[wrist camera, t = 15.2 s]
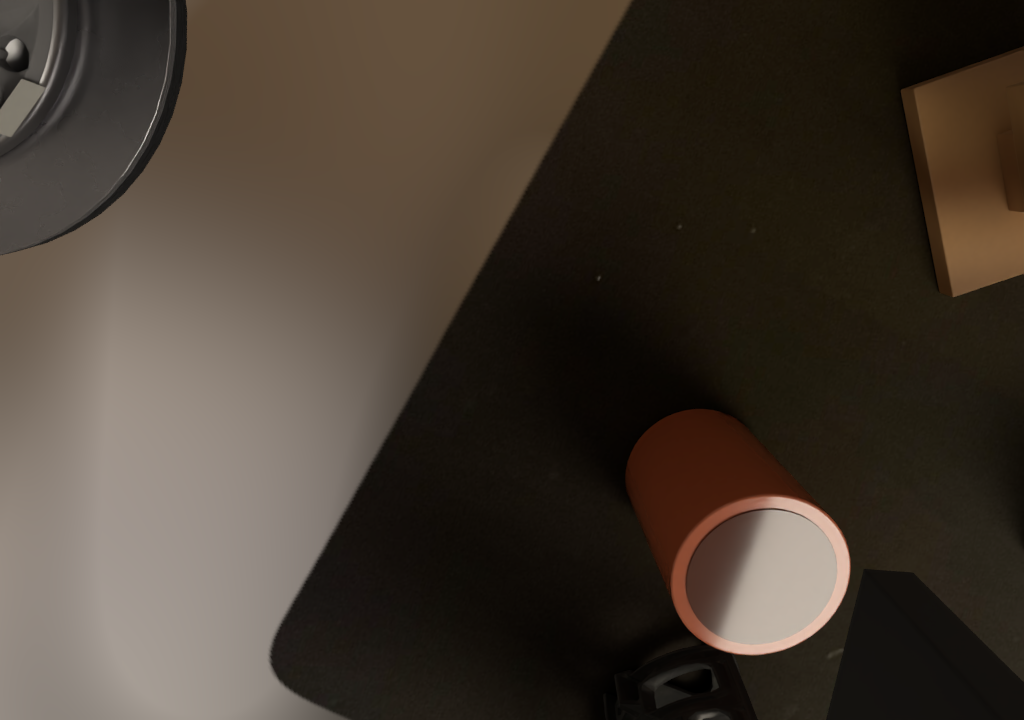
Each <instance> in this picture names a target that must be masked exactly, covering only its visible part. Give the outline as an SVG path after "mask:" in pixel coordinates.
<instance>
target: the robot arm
mask: <svg viewBox="0 0 1024 720" xmlns="http://www.w3.org/2000/svg"><path fill="white" fill-rule="evenodd" d="M76 31H77V0H0V156H1V155H3V154H5V153H6V152H8V151H10V150H11V149H13V148H14V147H15V146H17V145H18V144H19V143H21V142H22V141H23V140H25V139H26V138H27V137H28V136H29V135H30V134H31V133H32V132H33V131H34V130H35V129H36V128H37V127H38V126H39V124H40V123H41V122H42V121H43V120H44V118H45V117H46V116H47V114H48V113H49V111H50V110H51V108H52V107H53V105H54V104H55V102H56V100H57V98H58V96H59V94H60V92H61V90H62V88H63V86H64V83H65V81H66V78H67V75H68V73H69V69H70V66H71V62H72V58H73V54H74V48H75V41H76ZM826 720H1024V682H1023V681H1022V680H1021V679H1020V678H1019V677H1018V676H1017V675H1016V674H1015V673H1014V672H1013V671H1012V670H1011V669H1010V668H1009V667H1008V666H1007V665H1006V664H1005V663H1004V662H1002V661H1001V660H1000V659H999V658H998V657H997V656H996V655H995V654H994V653H993V652H992V651H991V650H990V649H989V648H988V647H987V646H986V645H985V644H984V643H983V642H982V641H981V640H980V639H979V638H978V637H977V636H976V635H975V634H974V633H973V632H972V631H971V630H970V629H969V628H968V627H967V626H966V625H965V624H964V623H963V622H962V621H961V620H960V619H959V618H958V617H957V616H956V615H955V614H954V613H953V612H952V611H951V610H950V609H949V608H948V607H947V606H946V605H945V604H944V603H943V602H942V601H941V600H940V599H939V598H938V597H937V596H936V595H935V594H934V593H933V592H932V591H931V590H930V589H929V588H928V587H927V586H926V585H925V584H924V583H923V582H922V581H921V580H920V579H919V578H918V577H917V576H916V575H915V574H914V573H910V572H896V571H883V570H869V569H864V572H863V576H862V580H861V584H860V588H859V592H858V596H857V600H856V604H855V608H854V612H853V615H852V619H851V623H850V627H849V631H848V635H847V639H846V643H845V647H844V651H843V655H842V659H841V663H840V667H839V671H838V675H837V679H836V683H835V687H834V691H833V695H832V699H831V703H830V707H829V711H828V715H827V719H826Z"/></svg>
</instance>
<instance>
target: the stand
mask: <svg viewBox="0 0 1024 720" xmlns="http://www.w3.org/2000/svg"><path fill="white" fill-rule="evenodd" d="M901 96H902V101H903V106H904V111H905V116H906V122H907V127H908V132H909V137H910V142H911V147H912V153H913V158H914V163H915V168H916V173H917V179H918V184H919V189H920V194H921V199H922V204H923V210H924V215H925V220H926V225H927V230H928V236H929V241H930V246H931V251H932V256H933V261H934V267H935V272H936V277H937V282H938V287H939V292H940V293H942V294H945V295H948V296H951V297H955V296H958V295H961V294H964V293H967V292H970V291H973V290H976V289H979V288H982V287H985V286H988V285H991V284H994V283H997V282H1000V281H1003V280H1006V279H1009V278H1012V277H1015V276H1018V275H1021V274H1024V46H1023V47H1020V48H1017V49H1015V50H1012V51H1009V52H1006V53H1003V54H1000V55H998V56H995V57H992V58H989V59H986V60H983V61H981V62H978V63H975V64H972V65H969V66H966V67H964V68H961V69H958V70H955V71H952V72H949V73H947V74H944V75H941V76H938V77H935V78H933V79H930V80H927V81H924V82H921V83H918V84H916V85H913V86H910V87H907V88H904V89H902V90H901Z"/></svg>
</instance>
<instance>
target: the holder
mask: <svg viewBox="0 0 1024 720" xmlns="http://www.w3.org/2000/svg"><path fill="white" fill-rule="evenodd" d="M700 669H711V678H712V682H711V685H710V688H709V689H708V690H706V691H704V692H703V693H692V692H690V691H687V690H685V689H682V688H680V687H677V686H675V685H672V684H670V683H667V681H669V680H670V679H672V678H675V677H677V676H679V675H682V674H684V673H687V672H691V671H695V670H700ZM614 679H615V685H616V691H617V697H616V696H614V695H611V694H609V693H605V694H604V695H603V701H604V710H605V719H606V720H758V719H757V717H756V714H755V712H754V709H753V707H752V704H751V701H750V699H749V696H748V694H747V691H746V689H745V686H744V684H743V681H742V679H741V676H740V672H739V667H738V664H737V661H736V658H735V656H734V654H733V653H728V652H725V651H722V650H719V649H716V648H714V647H712V646H710V645H699V646H692V647H688V648H683V649H679V650H676V651H672V652H670V653H667V654H665V655H662V656H659V657H657V658H655V659H653V660H651V661H649V662H647V663H646V664H644V665H643V666H641V667H639V668H638V669H637V670H635V671H633V670H628V671H624V672H621V673H617V674H615V675H614Z"/></svg>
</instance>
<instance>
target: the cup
mask: <svg viewBox="0 0 1024 720" xmlns="http://www.w3.org/2000/svg"><path fill="white" fill-rule="evenodd" d="M625 481H626V489H627V493H628V497H629V499H630V502H631V504H632V506H633V509H634V511H635V514H636V516H637V518H638V521H639V523H640V526H641V528H642V530H643V533H644V535H645V537H646V540H647V542H648V545H649V547H650V549H651V552H652V554H653V557H654V559H655V561H656V564H657V566H658V569H659V571H660V573H661V576H662V578H663V580H664V583H665V585H666V588H667V590H668V592H669V595H670V597H671V600H672V602H673V604H674V607H675V609H676V611H677V614H678V616H679V617H680V619H681V620H682V622H683V624H684V625H685V626H686V627H687V628H688V630H689V631H690V632H691V633H693V634H694V635H695V636H696V637H697V638H699V639H700V640H701V641H703V642H704V643H706V644H708V645H710V646H712V647H714V648H716V649H719V650H722V651H725V652H728V653H733V654H739V655H763V654H770V653H774V652H778V651H782V650H785V649H787V648H790V647H793V646H795V645H797V644H799V643H801V642H803V641H804V640H806V639H807V638H809V637H811V636H812V635H813V634H815V633H816V632H817V631H818V630H820V629H821V628H822V627H823V626H824V625H825V624H826V623H827V622H828V621H829V620H830V618H831V617H832V616H833V614H834V613H835V612H836V611H837V609H838V607H839V605H840V604H841V602H842V600H843V598H844V595H845V593H846V590H847V587H848V583H849V578H850V570H851V568H850V554H849V548H848V545H847V542H846V539H845V537H844V535H843V533H842V531H841V529H840V528H839V526H838V525H837V524H836V522H835V521H834V520H833V519H832V518H831V517H830V516H829V514H828V513H827V512H826V511H825V510H824V509H823V508H822V507H821V506H820V505H819V504H818V503H817V502H816V501H815V500H814V498H813V497H812V496H811V495H810V494H809V493H808V492H807V491H806V490H805V489H804V488H803V487H802V486H801V485H800V484H799V483H798V481H797V480H796V479H795V478H794V477H793V476H792V475H791V474H790V473H789V472H788V471H787V470H786V469H785V468H784V467H783V465H782V464H781V463H780V462H779V461H778V460H777V459H776V458H775V457H774V456H773V455H772V454H771V453H770V452H769V451H768V449H767V448H766V447H765V446H764V445H763V444H762V443H761V442H760V441H759V440H758V439H757V438H756V437H755V436H754V435H753V434H752V432H751V431H750V430H749V429H748V428H747V427H746V426H745V425H744V424H742V423H741V422H740V421H738V420H737V419H735V418H733V417H732V416H730V415H727V414H725V413H722V412H719V411H715V410H708V409H691V410H685V411H681V412H677V413H674V414H672V415H669V416H667V417H665V418H663V419H661V420H660V421H658V422H657V423H655V424H654V425H653V426H651V427H650V428H649V429H648V430H647V431H646V432H645V433H644V434H643V435H642V436H641V437H640V439H639V440H638V441H637V443H636V445H635V446H634V448H633V450H632V452H631V454H630V457H629V460H628V463H627V468H626V480H625Z"/></svg>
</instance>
